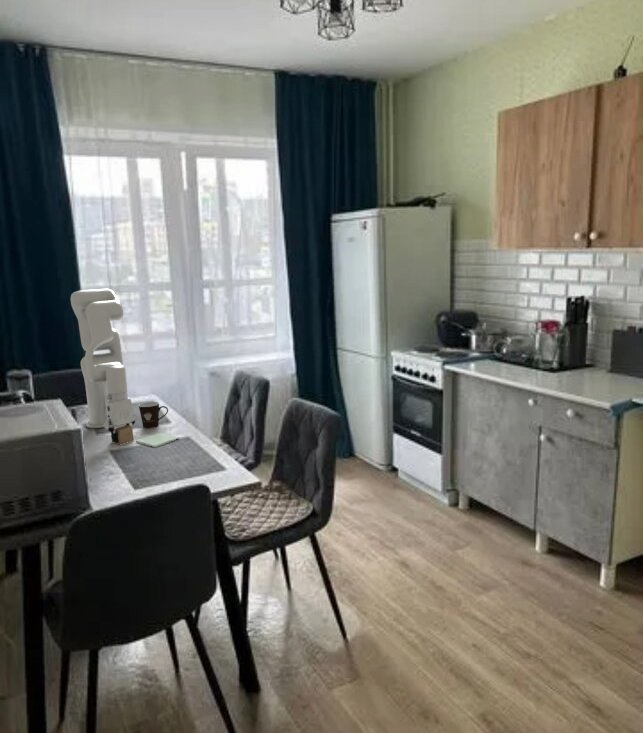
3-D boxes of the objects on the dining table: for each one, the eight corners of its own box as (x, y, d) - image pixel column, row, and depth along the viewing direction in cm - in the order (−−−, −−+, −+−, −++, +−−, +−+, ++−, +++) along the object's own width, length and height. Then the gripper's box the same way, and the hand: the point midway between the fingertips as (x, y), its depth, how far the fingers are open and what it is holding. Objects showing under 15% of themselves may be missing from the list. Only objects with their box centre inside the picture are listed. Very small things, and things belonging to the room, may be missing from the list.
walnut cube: (111, 442, 239) (110, 428, 238) (124, 438, 244) (123, 424, 243) (120, 444, 236) (119, 430, 234) (133, 440, 240) (132, 426, 239)
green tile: (136, 442, 238) (135, 440, 238) (160, 434, 247) (160, 432, 247) (155, 447, 231) (155, 445, 230) (179, 439, 240) (179, 437, 240)
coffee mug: (136, 428, 257) (134, 406, 255) (149, 422, 265) (147, 401, 263) (158, 430, 253) (156, 407, 251) (170, 424, 261) (168, 402, 259)
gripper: (104, 402, 227) (109, 447, 230) (142, 392, 241) (146, 435, 244) (93, 400, 231) (98, 444, 235) (130, 390, 245) (134, 432, 248)
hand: (122, 439), depth 239 cm, fingers closed on walnut cube, 6 cm apart
